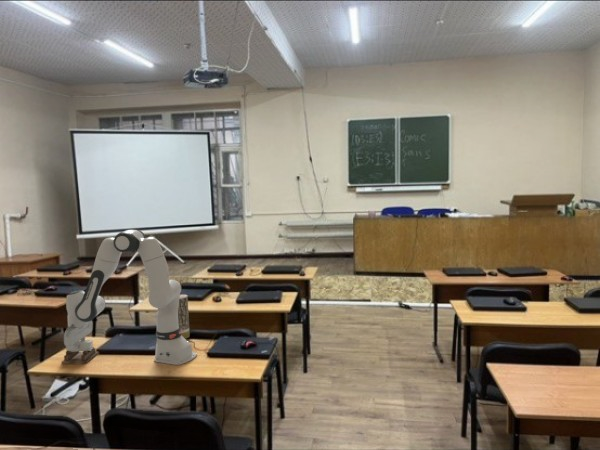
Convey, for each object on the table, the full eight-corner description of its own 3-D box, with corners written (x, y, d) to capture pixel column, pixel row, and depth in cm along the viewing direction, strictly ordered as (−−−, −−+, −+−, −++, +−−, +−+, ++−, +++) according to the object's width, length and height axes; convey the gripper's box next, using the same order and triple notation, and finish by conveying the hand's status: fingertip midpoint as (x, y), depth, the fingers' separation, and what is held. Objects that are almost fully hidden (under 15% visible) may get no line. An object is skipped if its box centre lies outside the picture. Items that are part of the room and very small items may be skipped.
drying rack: (98, 353, 219) (98, 344, 219) (86, 363, 207) (85, 353, 207) (75, 354, 220) (74, 344, 219) (61, 363, 208) (60, 354, 207)
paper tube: (187, 339, 236) (185, 297, 234) (176, 339, 236) (173, 297, 234) (191, 335, 243) (188, 294, 240) (179, 335, 243) (177, 294, 241)
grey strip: (66, 352, 211) (65, 343, 211) (69, 349, 214) (68, 341, 214) (90, 350, 212) (89, 342, 212) (92, 348, 215) (92, 340, 215)
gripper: (71, 328, 201) (74, 355, 203) (93, 315, 221) (95, 339, 223) (59, 328, 201) (61, 355, 203) (82, 315, 222) (84, 339, 223)
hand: (79, 347), depth 213 cm, fingers closed on grey strip, 3 cm apart
